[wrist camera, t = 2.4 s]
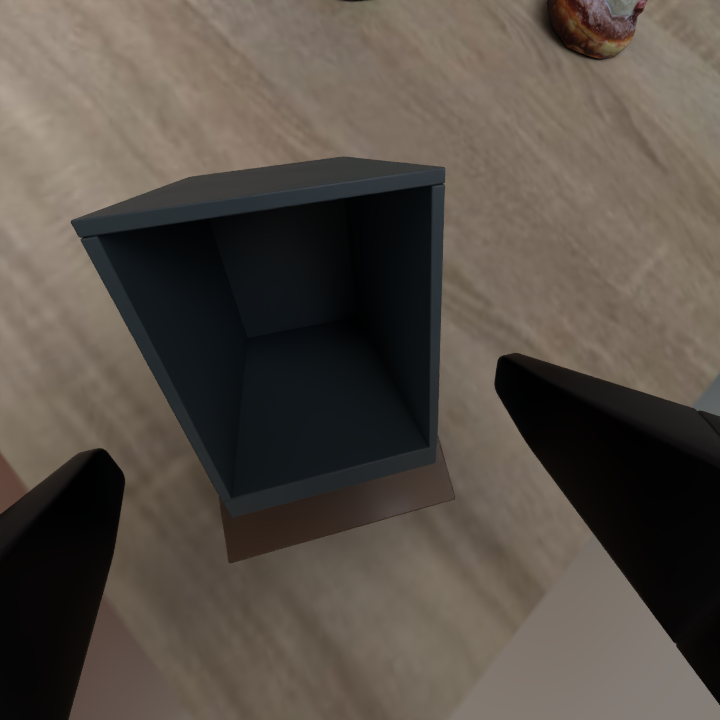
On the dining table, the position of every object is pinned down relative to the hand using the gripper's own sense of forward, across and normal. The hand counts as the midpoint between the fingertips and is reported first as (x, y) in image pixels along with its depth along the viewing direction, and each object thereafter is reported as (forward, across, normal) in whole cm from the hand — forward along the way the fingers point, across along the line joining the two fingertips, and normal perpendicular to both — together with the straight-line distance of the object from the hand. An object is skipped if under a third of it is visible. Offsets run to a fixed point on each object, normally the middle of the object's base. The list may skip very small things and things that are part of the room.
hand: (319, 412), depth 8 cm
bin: (+12, 0, +5) cm, 13 cm away
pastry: (+28, -28, -11) cm, 41 cm away
